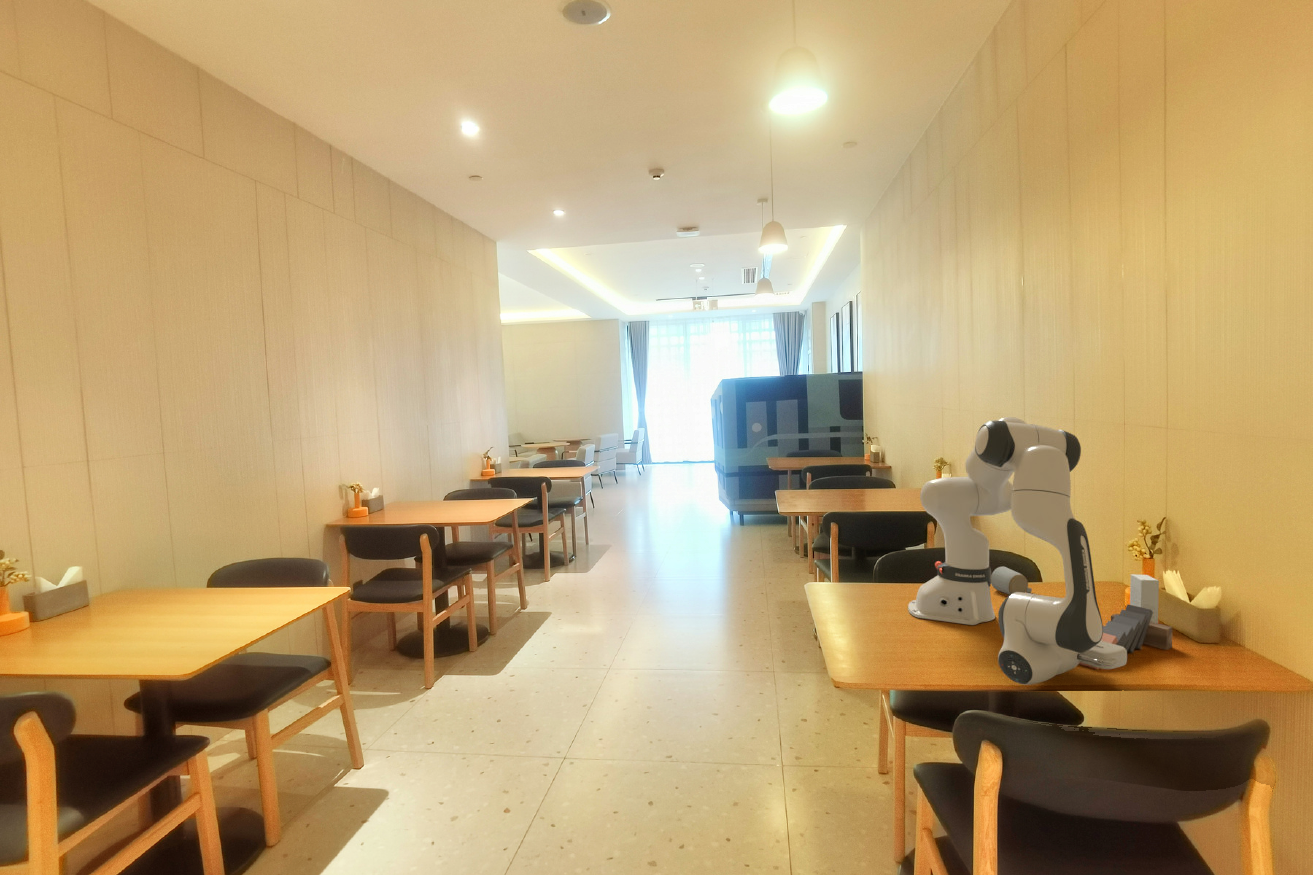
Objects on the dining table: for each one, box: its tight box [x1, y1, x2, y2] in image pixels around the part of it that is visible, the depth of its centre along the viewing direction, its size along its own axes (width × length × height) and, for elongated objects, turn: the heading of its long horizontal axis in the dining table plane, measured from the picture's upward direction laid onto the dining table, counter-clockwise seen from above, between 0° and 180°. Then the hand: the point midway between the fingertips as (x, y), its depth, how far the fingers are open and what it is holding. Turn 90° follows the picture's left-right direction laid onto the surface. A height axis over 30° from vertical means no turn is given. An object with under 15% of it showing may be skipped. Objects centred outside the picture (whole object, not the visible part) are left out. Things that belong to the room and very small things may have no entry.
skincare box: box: [1129, 574, 1160, 624], centre depth 175 cm, size 6×4×12 cm
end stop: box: [1110, 613, 1173, 651], centre depth 162 cm, size 3×12×5 cm, turn 31°
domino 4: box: [1112, 615, 1141, 651], centre depth 156 cm, size 2×5×10 cm
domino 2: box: [1103, 625, 1126, 646], centre depth 152 cm, size 2×5×10 cm
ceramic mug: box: [991, 566, 1033, 596], centre depth 202 cm, size 11×8×8 cm
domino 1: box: [1078, 633, 1118, 670], centre depth 150 cm, size 2×5×10 cm
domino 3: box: [1105, 620, 1134, 647], centre depth 154 cm, size 2×5×10 cm
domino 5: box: [1119, 609, 1147, 654], centre depth 158 cm, size 2×5×10 cm
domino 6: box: [1125, 603, 1153, 650], centre depth 160 cm, size 2×5×10 cm
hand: (1088, 636), depth 148 cm, fingers closed
